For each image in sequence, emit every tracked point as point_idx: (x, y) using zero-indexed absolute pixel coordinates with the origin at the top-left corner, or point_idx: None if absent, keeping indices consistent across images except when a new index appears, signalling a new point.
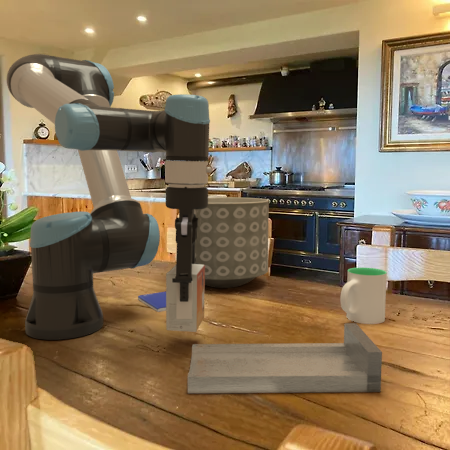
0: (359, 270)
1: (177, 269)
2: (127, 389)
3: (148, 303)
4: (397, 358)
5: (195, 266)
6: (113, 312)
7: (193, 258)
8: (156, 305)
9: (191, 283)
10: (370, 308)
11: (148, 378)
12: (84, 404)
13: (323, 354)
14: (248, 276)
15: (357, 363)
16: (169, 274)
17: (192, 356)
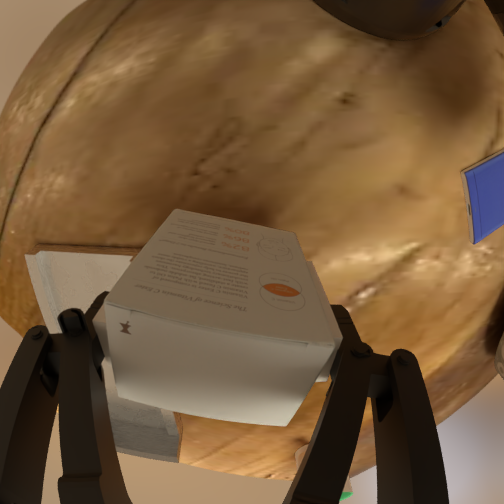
0: (349, 492)
1: (16, 359)
2: (38, 151)
3: (495, 156)
4: (184, 447)
5: (245, 409)
6: (465, 74)
7: (318, 419)
8: (479, 172)
9: (107, 360)
10: (297, 467)
11: (70, 175)
12: (9, 106)
13: (157, 413)
14: (497, 355)
15: (123, 425)
16: (105, 312)
17: (117, 256)
